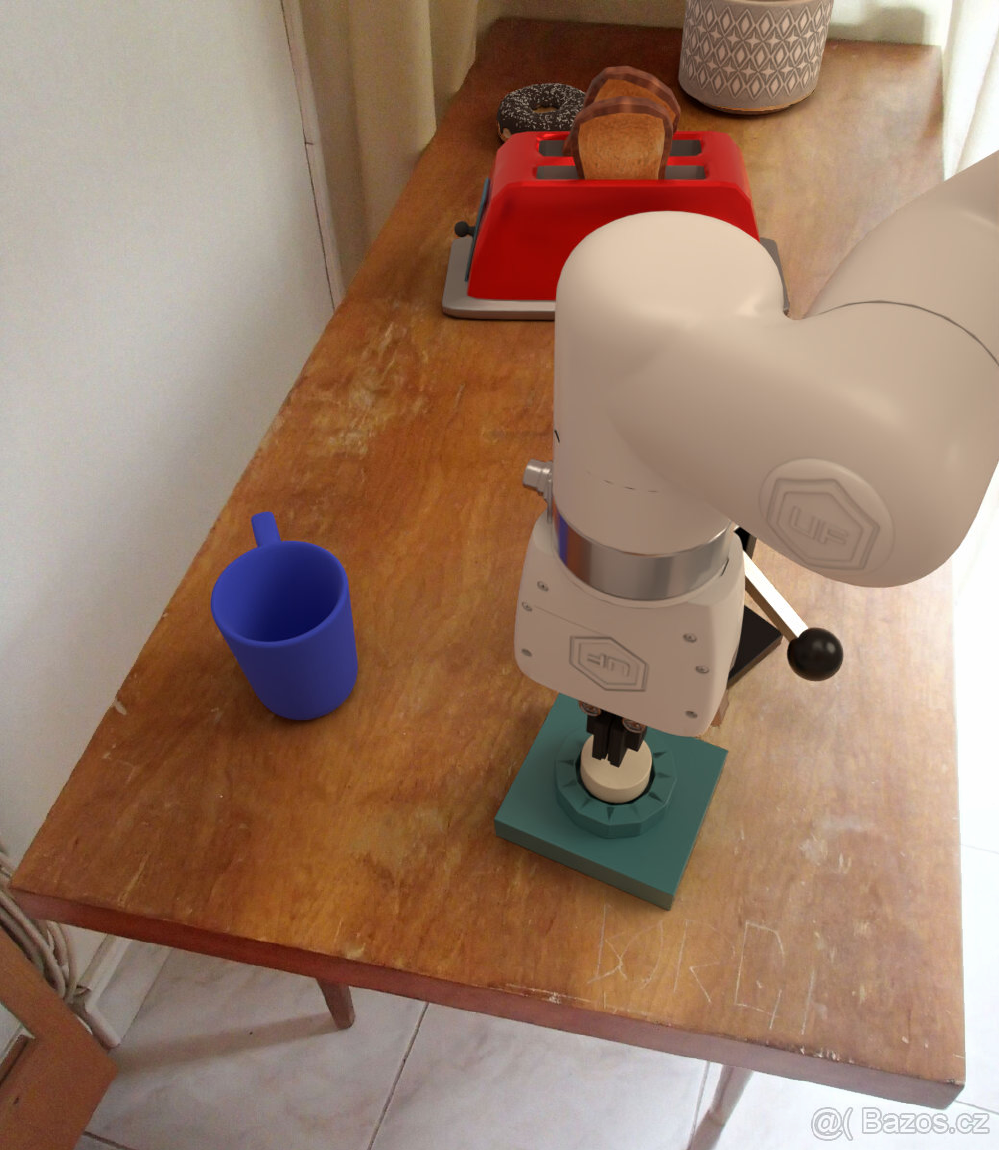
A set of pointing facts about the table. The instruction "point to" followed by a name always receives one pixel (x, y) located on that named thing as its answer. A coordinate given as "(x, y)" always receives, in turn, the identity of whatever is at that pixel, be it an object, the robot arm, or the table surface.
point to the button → (616, 774)
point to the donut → (539, 109)
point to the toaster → (589, 194)
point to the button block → (612, 808)
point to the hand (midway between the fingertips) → (615, 741)
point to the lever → (794, 629)
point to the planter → (752, 51)
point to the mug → (288, 623)
